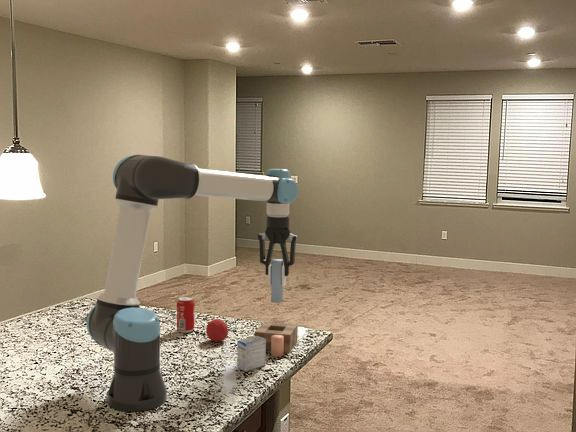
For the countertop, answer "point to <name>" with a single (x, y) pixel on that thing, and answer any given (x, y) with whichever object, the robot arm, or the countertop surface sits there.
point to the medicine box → (251, 353)
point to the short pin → (277, 345)
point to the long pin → (276, 281)
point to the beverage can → (185, 314)
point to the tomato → (217, 330)
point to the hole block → (278, 329)
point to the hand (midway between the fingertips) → (277, 284)
